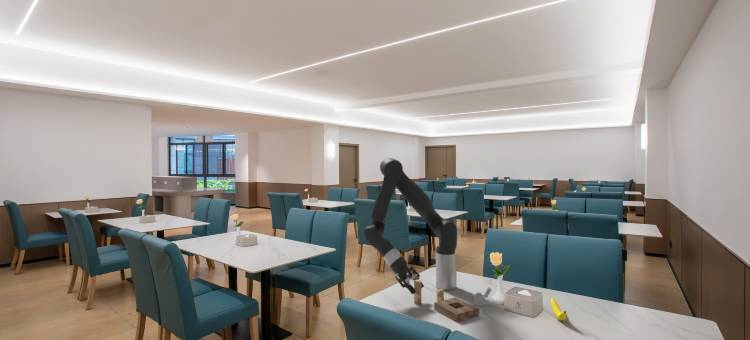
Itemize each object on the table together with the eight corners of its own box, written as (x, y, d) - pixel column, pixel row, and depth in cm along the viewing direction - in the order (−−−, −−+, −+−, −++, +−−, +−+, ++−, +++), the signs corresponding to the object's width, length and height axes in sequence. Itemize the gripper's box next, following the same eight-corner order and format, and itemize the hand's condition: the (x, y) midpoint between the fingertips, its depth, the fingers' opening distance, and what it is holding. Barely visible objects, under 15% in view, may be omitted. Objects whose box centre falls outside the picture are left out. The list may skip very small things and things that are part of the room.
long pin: (418, 301, 167) (418, 279, 167) (422, 303, 164) (422, 281, 164) (412, 302, 165) (412, 280, 165) (416, 305, 163) (416, 282, 162)
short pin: (440, 298, 171) (440, 288, 170) (445, 300, 168) (445, 290, 168) (435, 299, 169) (435, 289, 169) (439, 302, 166) (439, 292, 166)
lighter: (474, 305, 162) (474, 287, 162) (474, 303, 164) (474, 285, 164) (491, 307, 160) (491, 288, 160) (491, 305, 162) (491, 287, 162)
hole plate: (455, 304, 164) (455, 297, 164) (479, 315, 152) (479, 308, 151) (434, 309, 158) (434, 302, 158) (456, 322, 146) (456, 314, 146)
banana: (556, 308, 158) (556, 293, 158) (569, 328, 140) (569, 311, 140) (548, 307, 159) (548, 293, 159) (560, 327, 140) (561, 311, 140)
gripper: (393, 259, 162) (417, 290, 157) (407, 252, 175) (430, 280, 169) (382, 269, 165) (406, 300, 160) (397, 262, 177) (419, 290, 172)
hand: (418, 290), depth 164 cm, fingers open, 8 cm apart
